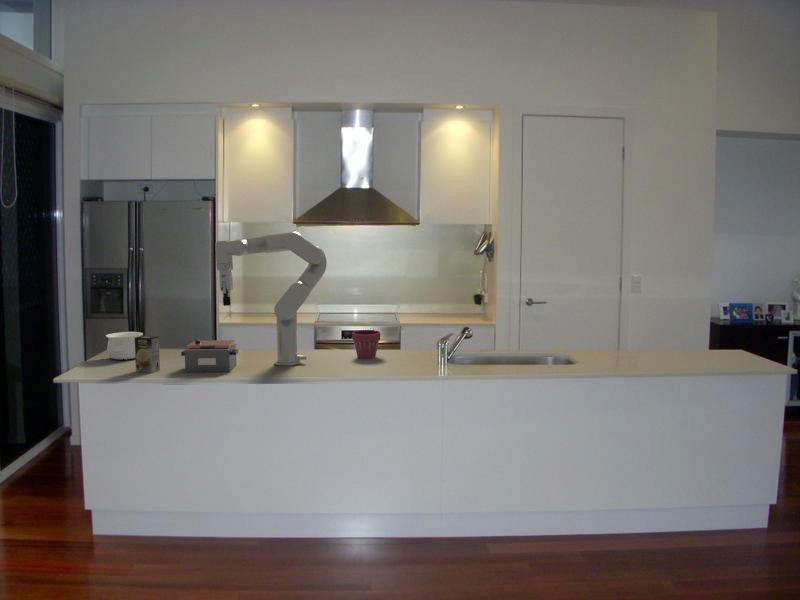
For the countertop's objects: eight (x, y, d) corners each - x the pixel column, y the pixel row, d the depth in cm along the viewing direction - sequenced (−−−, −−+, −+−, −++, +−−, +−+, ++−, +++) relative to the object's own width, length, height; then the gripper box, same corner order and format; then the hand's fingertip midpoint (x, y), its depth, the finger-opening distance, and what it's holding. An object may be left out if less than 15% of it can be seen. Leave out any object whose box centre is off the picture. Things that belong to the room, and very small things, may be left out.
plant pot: (368, 360, 343) (367, 335, 341) (346, 357, 351) (346, 332, 350) (386, 356, 354) (386, 331, 353) (364, 353, 362) (364, 329, 361)
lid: (235, 343, 334) (234, 337, 333) (228, 349, 317) (227, 343, 317) (194, 343, 333) (194, 337, 333) (185, 350, 317) (185, 343, 316)
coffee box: (135, 372, 319) (133, 337, 317) (143, 369, 325) (142, 335, 323) (152, 373, 317) (151, 338, 315) (160, 370, 323) (159, 336, 321)
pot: (136, 362, 342) (135, 337, 341) (100, 363, 341) (99, 338, 340) (149, 354, 364) (148, 331, 363) (115, 354, 363) (113, 331, 361)
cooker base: (241, 364, 334) (240, 343, 333) (234, 372, 318) (234, 349, 317) (189, 365, 333) (188, 343, 332) (179, 372, 317) (178, 350, 316)
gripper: (230, 267, 323) (232, 306, 325) (235, 265, 338) (237, 303, 340) (213, 268, 323) (216, 307, 325) (219, 266, 338) (221, 304, 340)
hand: (227, 305), depth 332 cm, fingers closed
